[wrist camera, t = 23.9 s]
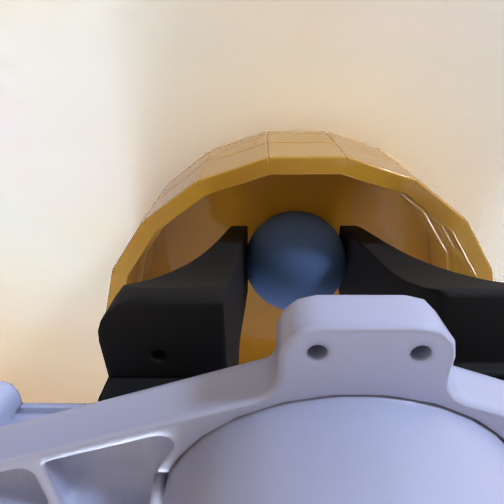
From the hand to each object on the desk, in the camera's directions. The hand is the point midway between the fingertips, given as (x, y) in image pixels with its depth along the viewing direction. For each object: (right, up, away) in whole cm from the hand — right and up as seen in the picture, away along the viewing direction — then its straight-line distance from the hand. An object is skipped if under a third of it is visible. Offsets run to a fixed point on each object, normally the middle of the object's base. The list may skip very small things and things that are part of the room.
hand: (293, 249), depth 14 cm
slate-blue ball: (0, 0, -1) cm, 1 cm away
